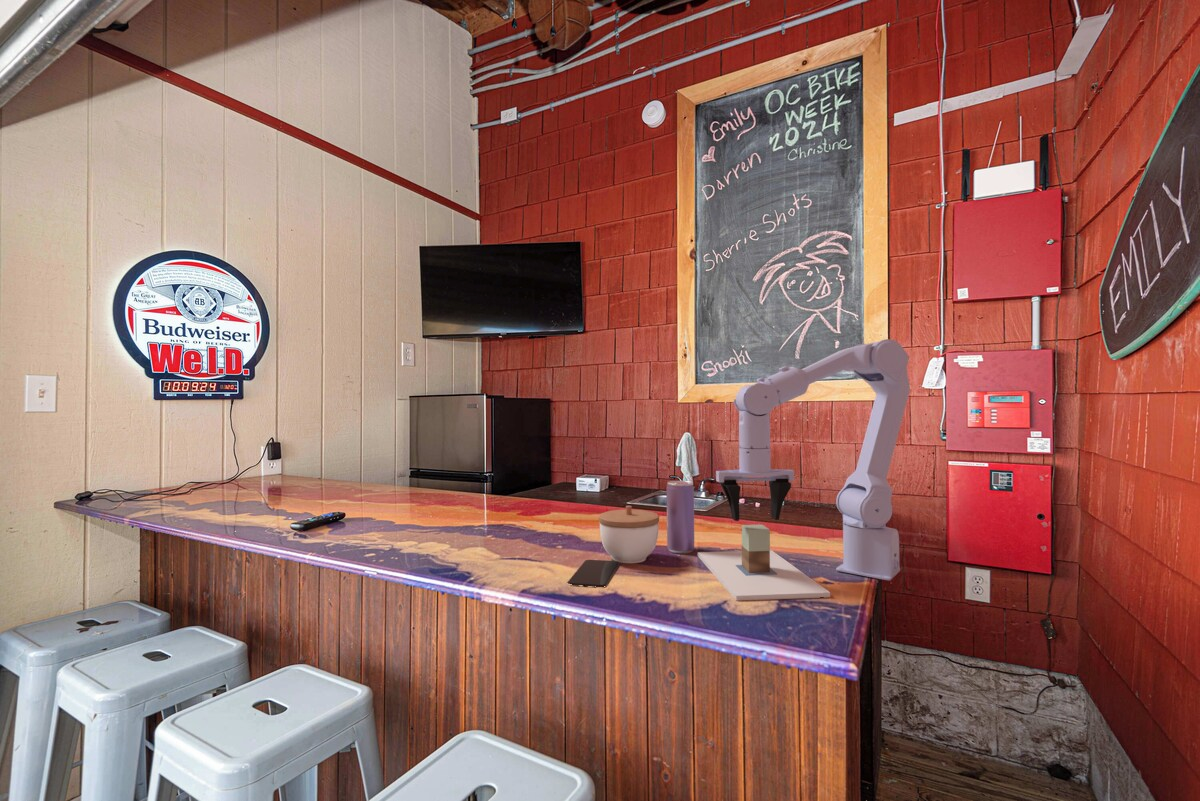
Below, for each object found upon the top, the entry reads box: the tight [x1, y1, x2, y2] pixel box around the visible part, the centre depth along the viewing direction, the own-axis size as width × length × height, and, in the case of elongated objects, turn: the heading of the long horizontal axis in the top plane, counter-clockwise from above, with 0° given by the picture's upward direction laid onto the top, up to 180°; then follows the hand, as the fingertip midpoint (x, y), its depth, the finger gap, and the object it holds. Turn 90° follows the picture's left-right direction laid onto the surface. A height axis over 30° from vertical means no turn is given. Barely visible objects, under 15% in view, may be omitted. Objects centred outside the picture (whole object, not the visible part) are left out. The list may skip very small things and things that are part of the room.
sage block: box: [741, 524, 771, 551], centre depth 104 cm, size 4×4×4 cm
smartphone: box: [566, 559, 620, 588], centre depth 105 cm, size 7×1×15 cm
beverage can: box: [666, 480, 695, 555], centre depth 121 cm, size 6×6×15 cm
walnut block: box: [741, 545, 770, 573], centre depth 104 cm, size 4×4×4 cm
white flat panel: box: [697, 549, 831, 601], centre depth 104 cm, size 16×26×1 cm, turn 4°
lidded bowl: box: [598, 505, 660, 565], centre depth 115 cm, size 13×13×11 cm
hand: (755, 519), depth 104 cm, fingers open, 7 cm apart
